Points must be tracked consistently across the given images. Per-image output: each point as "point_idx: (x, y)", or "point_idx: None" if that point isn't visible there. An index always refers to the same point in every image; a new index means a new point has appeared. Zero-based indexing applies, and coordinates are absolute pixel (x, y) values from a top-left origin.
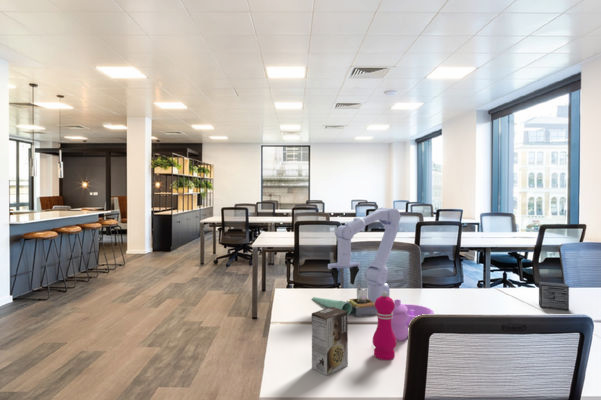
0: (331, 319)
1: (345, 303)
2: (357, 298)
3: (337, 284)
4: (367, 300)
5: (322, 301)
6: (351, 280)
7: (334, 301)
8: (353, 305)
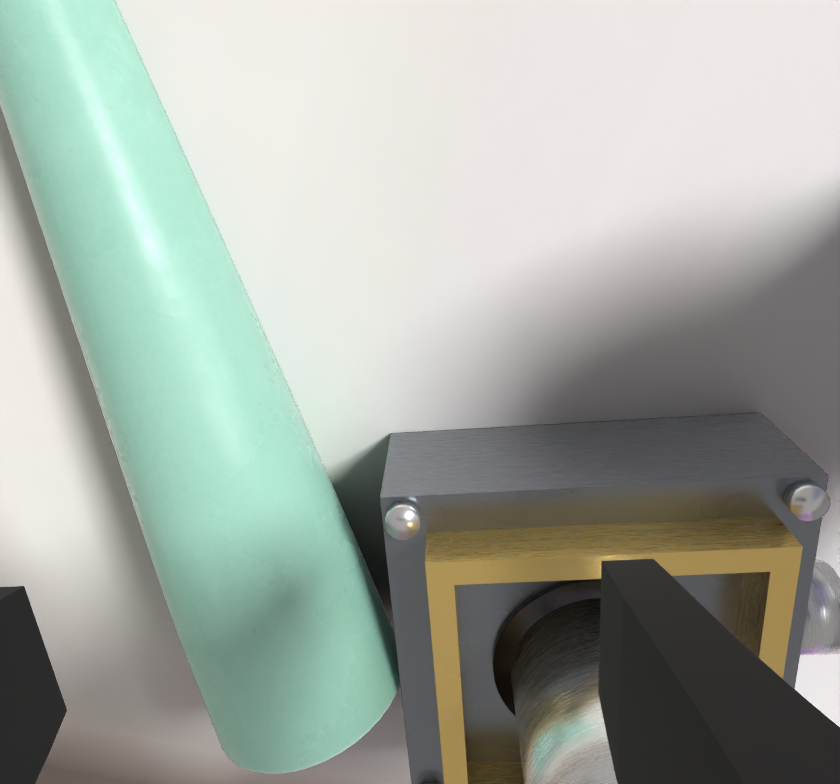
0: None
1: (270, 765)
2: (521, 757)
3: (37, 756)
4: (751, 632)
5: (2, 106)
6: (635, 723)
7: (149, 506)
8: (426, 699)
